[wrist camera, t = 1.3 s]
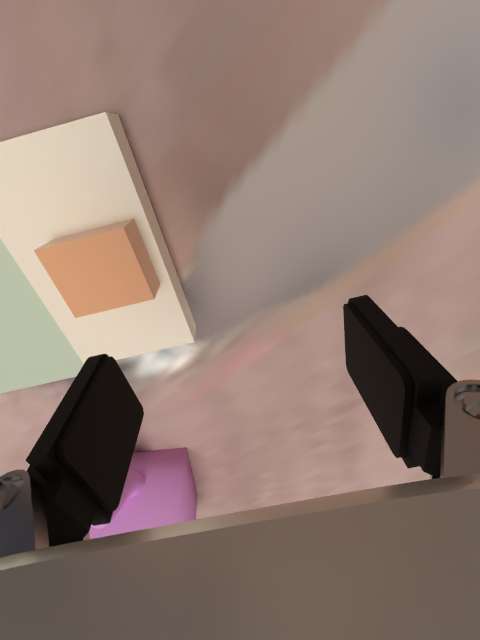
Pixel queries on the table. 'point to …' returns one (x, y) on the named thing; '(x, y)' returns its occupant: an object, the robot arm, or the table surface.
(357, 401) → the table surface
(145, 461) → the teapot
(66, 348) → the sage mat
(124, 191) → the plate
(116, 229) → the terracotta tile
